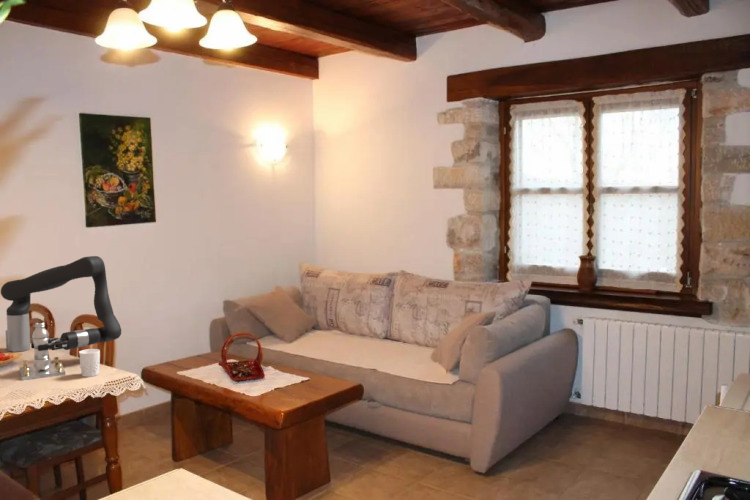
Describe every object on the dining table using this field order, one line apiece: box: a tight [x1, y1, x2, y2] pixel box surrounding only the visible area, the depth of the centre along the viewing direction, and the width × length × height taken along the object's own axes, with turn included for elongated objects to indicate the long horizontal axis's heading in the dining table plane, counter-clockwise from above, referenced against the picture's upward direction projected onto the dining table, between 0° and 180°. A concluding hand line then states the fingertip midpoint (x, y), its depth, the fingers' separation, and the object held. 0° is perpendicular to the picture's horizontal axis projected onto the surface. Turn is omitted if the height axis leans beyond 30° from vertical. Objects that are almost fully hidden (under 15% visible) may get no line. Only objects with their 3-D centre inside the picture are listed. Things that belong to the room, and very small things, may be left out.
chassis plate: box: [19, 356, 66, 381], centre depth 275 cm, size 16×16×4 cm
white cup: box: [78, 348, 101, 378], centre depth 272 cm, size 8×8×10 cm
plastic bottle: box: [31, 321, 52, 370], centre depth 274 cm, size 6×7×20 cm
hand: (35, 347), depth 272 cm, fingers closed on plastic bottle, 5 cm apart
